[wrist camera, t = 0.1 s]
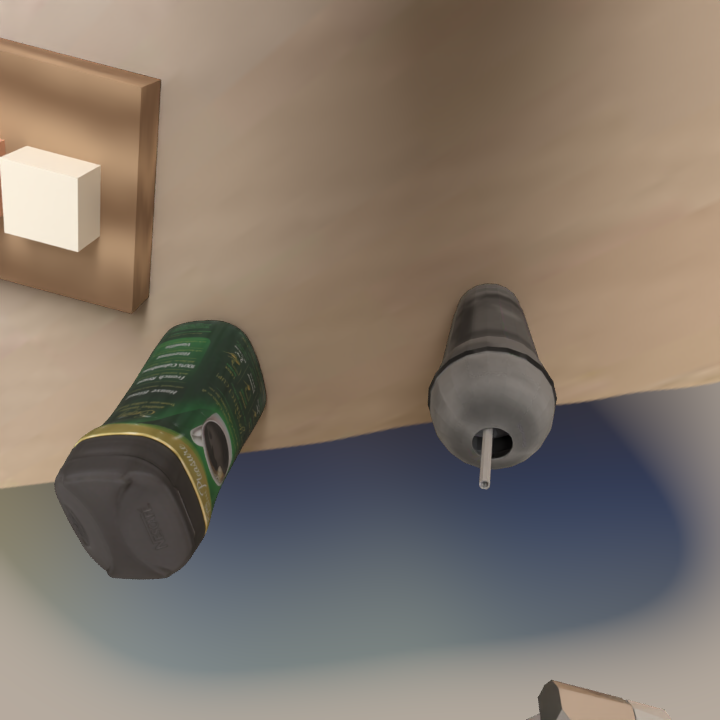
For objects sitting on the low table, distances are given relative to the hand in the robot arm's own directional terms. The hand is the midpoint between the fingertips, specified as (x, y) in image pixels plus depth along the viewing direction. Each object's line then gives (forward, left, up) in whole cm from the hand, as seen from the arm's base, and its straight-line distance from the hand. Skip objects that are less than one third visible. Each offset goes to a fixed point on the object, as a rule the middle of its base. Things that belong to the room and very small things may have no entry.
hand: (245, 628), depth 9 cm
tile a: (+11, -22, -36) cm, 43 cm away
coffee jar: (+24, -11, -39) cm, 47 cm away
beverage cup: (+13, +8, -39) cm, 42 cm away
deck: (+11, -25, -39) cm, 47 cm away
